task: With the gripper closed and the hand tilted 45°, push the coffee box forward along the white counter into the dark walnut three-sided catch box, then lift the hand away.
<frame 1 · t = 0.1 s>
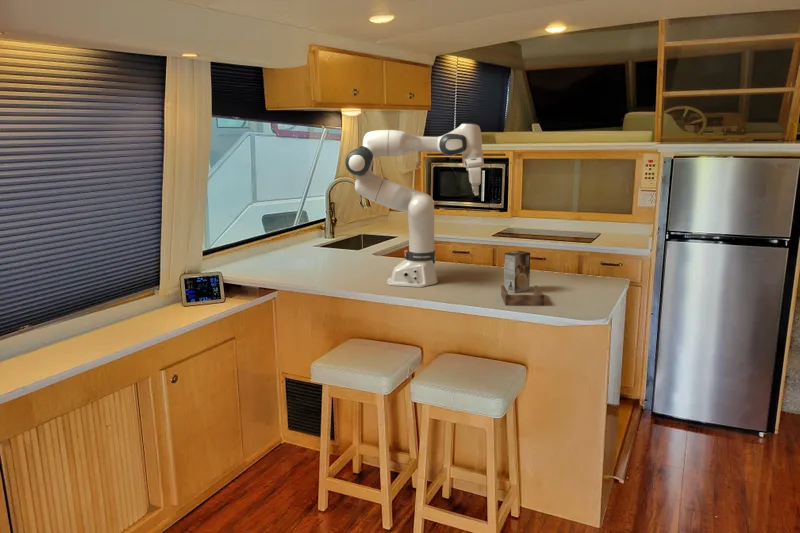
hand: (475, 194, 251), 39 cm above the worktop, tool pointing down, fingers open, 8 cm apart
catch box: (521, 299, 231), on the worktop
coffee box: (516, 290, 245), on the worktop
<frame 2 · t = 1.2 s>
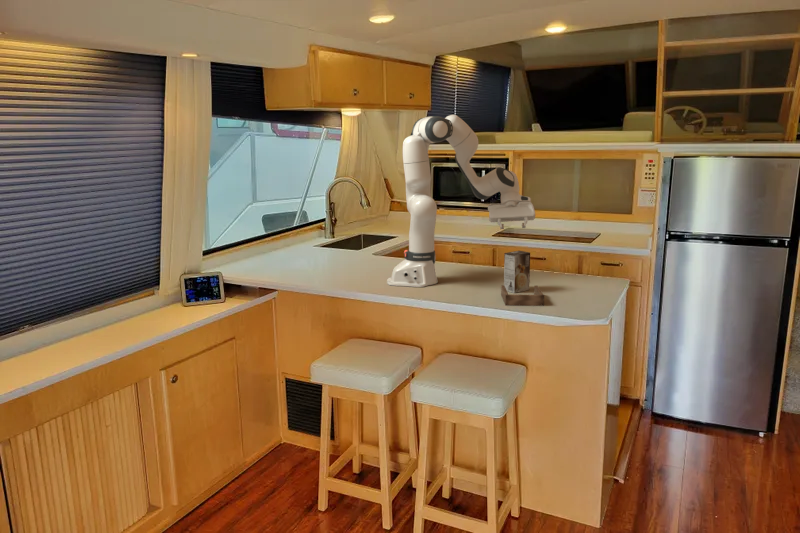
hand: (513, 227, 257), 24 cm above the worktop, tool tilted 45°, fingers open, 8 cm apart
nothing on the worktop moved.
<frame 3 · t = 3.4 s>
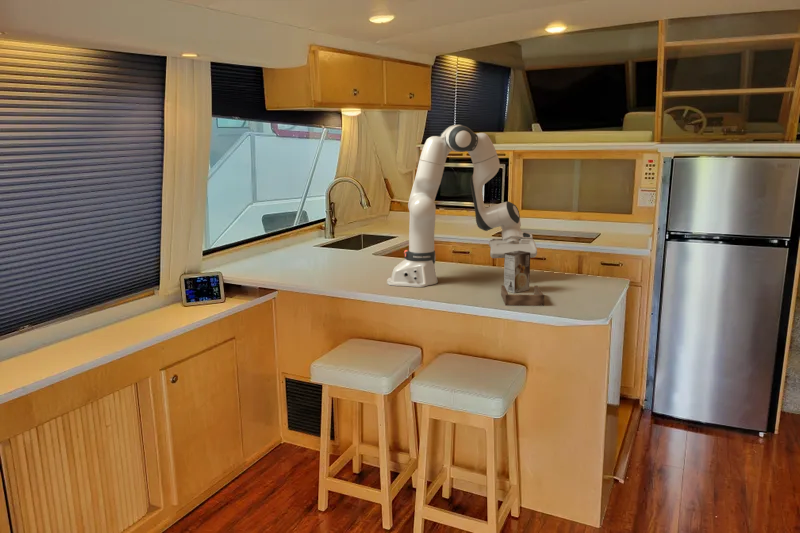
hand: (514, 264, 254), 8 cm above the worktop, tool tilted 45°, fingers closed
nothing on the worktop moved.
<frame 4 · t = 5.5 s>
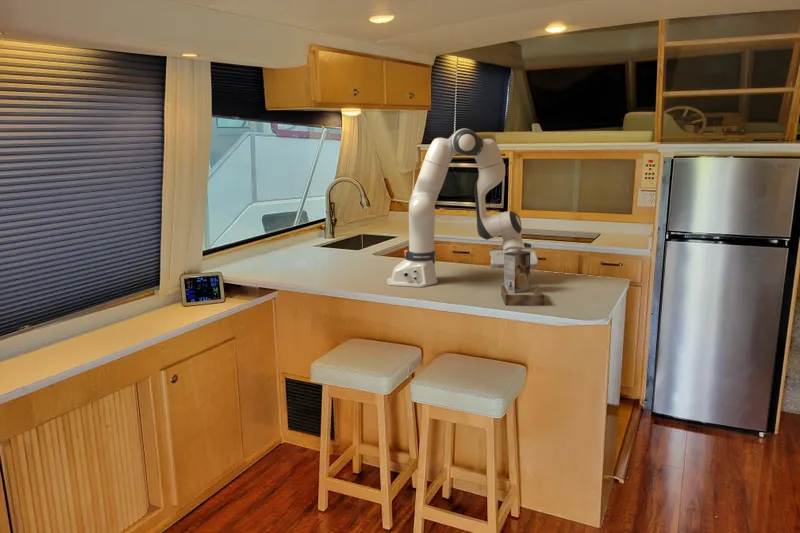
hand: (515, 275, 250), 5 cm above the worktop, tool tilted 45°, fingers closed
coffee box: (516, 290, 245), on the worktop, touching gripper
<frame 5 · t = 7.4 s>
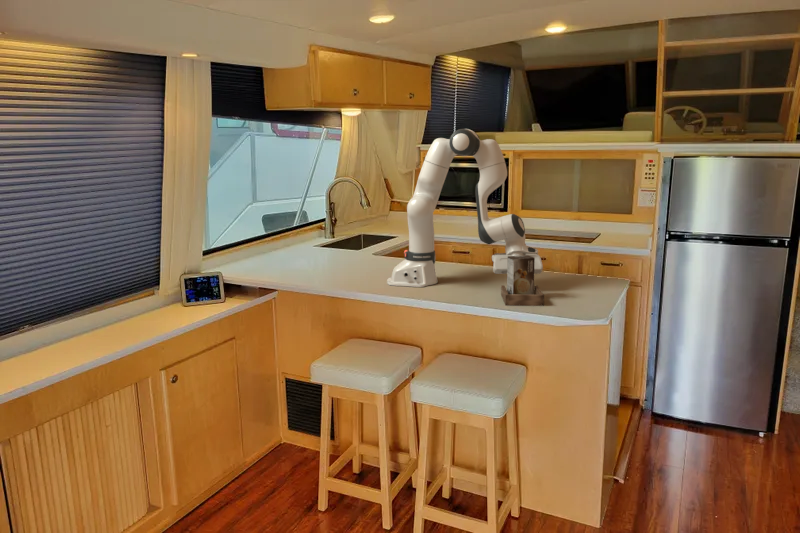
hand: (518, 281, 239), 5 cm above the worktop, tool tilted 45°, fingers closed
coffee box: (519, 296, 236), on the worktop, touching gripper
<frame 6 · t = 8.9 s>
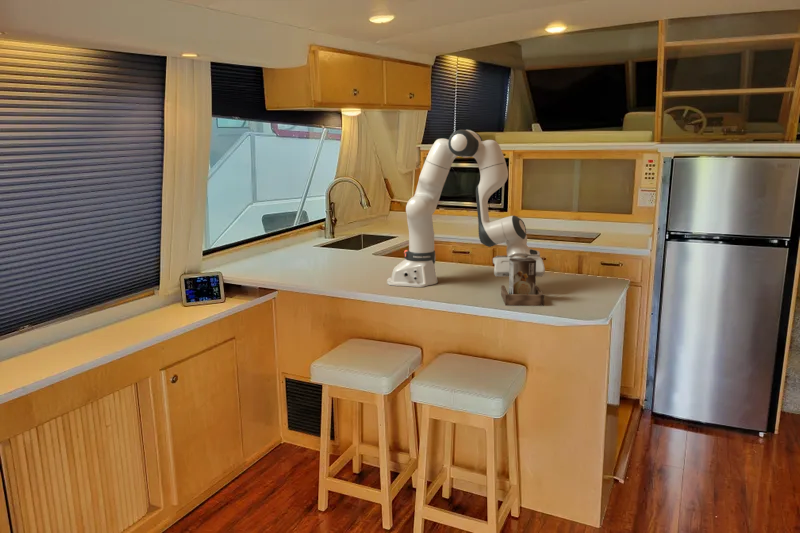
hand: (520, 284, 234), 5 cm above the worktop, tool tilted 45°, fingers closed
coffee box: (521, 299, 232), on the worktop, touching gripper
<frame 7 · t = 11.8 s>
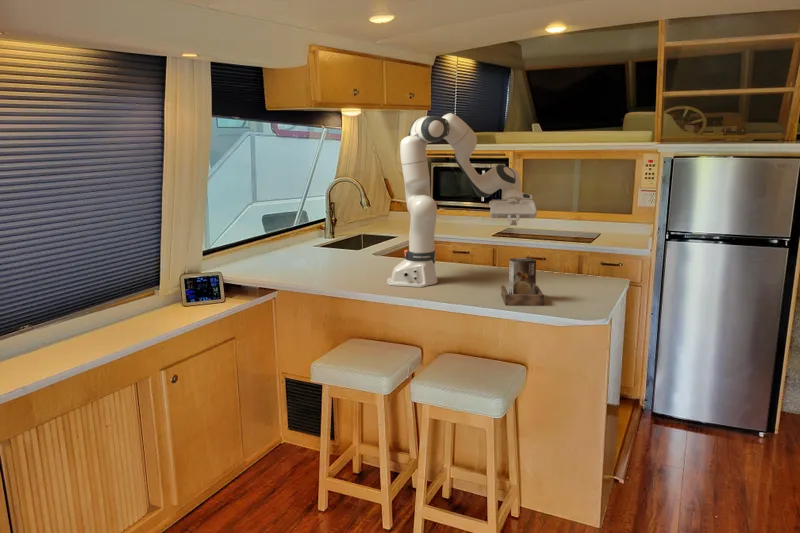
hand: (513, 224, 254), 25 cm above the worktop, tool tilted 45°, fingers closed
coffee box: (521, 299, 232), on the worktop
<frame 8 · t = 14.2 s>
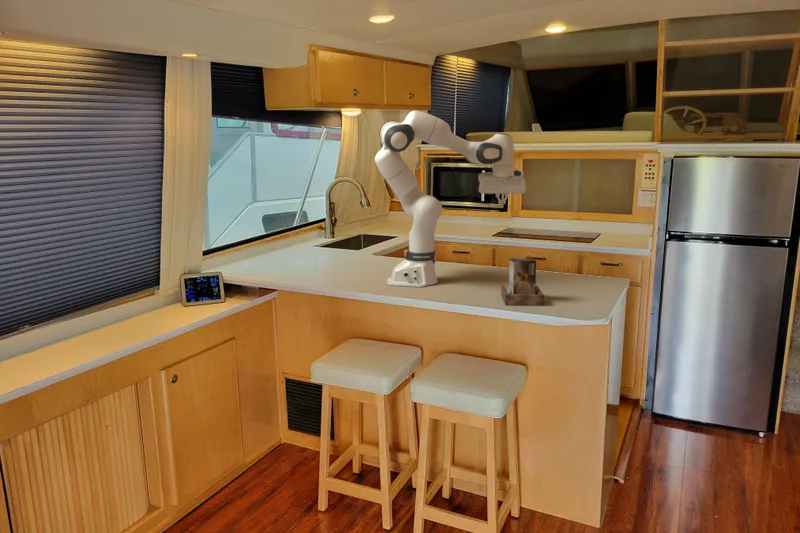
hand: (501, 204, 256), 34 cm above the worktop, tool pointing down, fingers closed
nothing on the worktop moved.
at the end: coffee box inside the target area on the catch box (3.0 cm from its centre), point 0.0 cm above the catch box's base; coffee box tilted 0° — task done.
